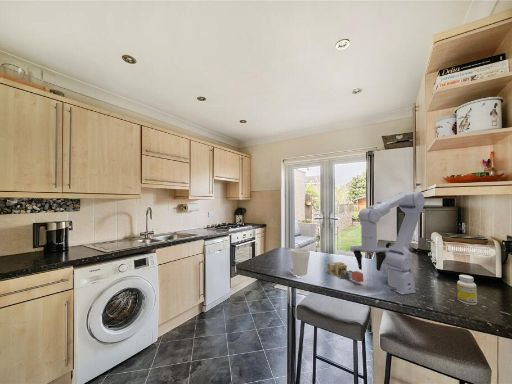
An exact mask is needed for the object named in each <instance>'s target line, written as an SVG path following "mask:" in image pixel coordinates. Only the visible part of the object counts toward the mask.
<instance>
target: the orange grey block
mask: <svg viewBox="0 0 512 384" xmlns="http://www.w3.org/2000/svg"><path fill="white" fill-rule="evenodd" d="M349 271H350V270H343V272H344V275H346V276H348V277H350V278H351V281H352V280H353V281H355V282H357V283H362V282H364V273H362V272H360V271H353V270H352V273H351V272H349Z"/></svg>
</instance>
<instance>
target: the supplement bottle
mask: <svg viewBox="0 0 512 384" xmlns="http://www.w3.org/2000/svg"><path fill="white" fill-rule="evenodd" d="M458 278H459V280H458V281H457V282H456V287H457V288H456V289H457V300H458V301H459V302H461V303H463V304H466V305H471V306H475V305H477V304H478V295H477V284H476V283H475V282H474V277H473V276H471V275H467V274H459V275H458Z"/></svg>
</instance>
